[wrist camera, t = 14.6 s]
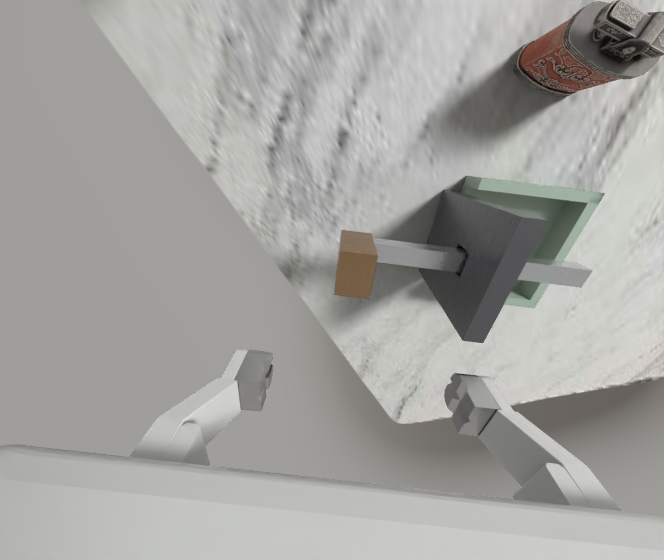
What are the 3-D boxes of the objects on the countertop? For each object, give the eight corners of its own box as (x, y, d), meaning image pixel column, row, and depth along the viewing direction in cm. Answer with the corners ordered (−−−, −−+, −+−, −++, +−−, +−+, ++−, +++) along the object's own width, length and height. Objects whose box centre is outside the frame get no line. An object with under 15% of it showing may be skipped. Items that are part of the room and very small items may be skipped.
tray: (429, 283, 38) (437, 296, 35) (466, 175, 31) (481, 178, 27) (516, 294, 38) (534, 308, 35) (575, 189, 31) (605, 193, 27)
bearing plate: (418, 270, 37) (462, 340, 23) (443, 190, 32) (521, 217, 17) (431, 272, 37) (483, 343, 23) (458, 191, 32) (548, 220, 17)
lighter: (591, 67, 25) (723, 19, 16) (565, 104, 27) (673, 78, 18) (527, 33, 24) (629, -37, 15) (504, 74, 26) (586, 31, 17)
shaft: (337, 259, 27) (334, 294, 20) (342, 224, 25) (339, 251, 18) (560, 286, 27) (635, 331, 20) (581, 254, 25) (671, 291, 18)
